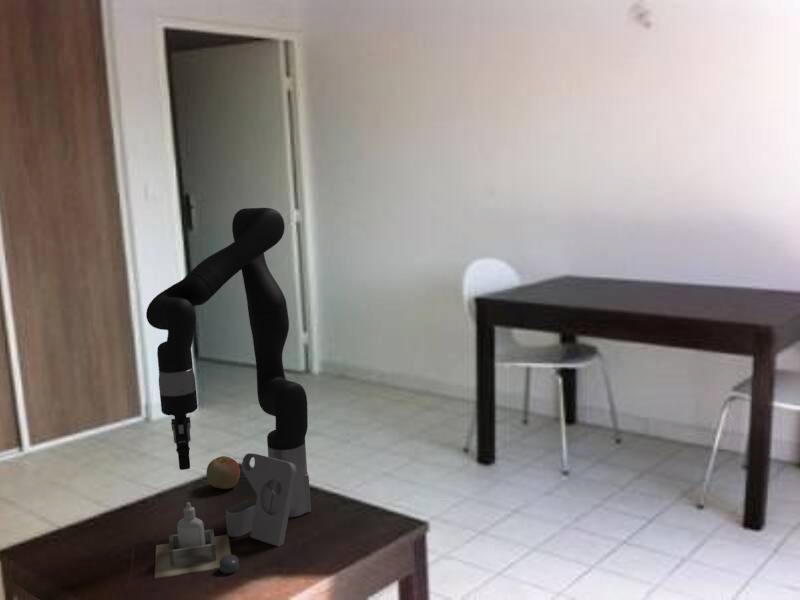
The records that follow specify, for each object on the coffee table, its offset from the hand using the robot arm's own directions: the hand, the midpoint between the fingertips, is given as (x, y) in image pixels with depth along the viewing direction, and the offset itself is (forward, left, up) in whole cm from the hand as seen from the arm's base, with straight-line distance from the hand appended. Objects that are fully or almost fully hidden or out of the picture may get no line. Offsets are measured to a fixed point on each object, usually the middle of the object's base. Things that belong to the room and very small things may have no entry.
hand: (184, 462), depth 180 cm
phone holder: (-16, -6, -22) cm, 28 cm away
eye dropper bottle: (0, 0, -21) cm, 21 cm away
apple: (-9, -41, -22) cm, 47 cm away
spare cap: (-7, +9, -21) cm, 24 cm away
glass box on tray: (0, 0, -22) cm, 22 cm away
